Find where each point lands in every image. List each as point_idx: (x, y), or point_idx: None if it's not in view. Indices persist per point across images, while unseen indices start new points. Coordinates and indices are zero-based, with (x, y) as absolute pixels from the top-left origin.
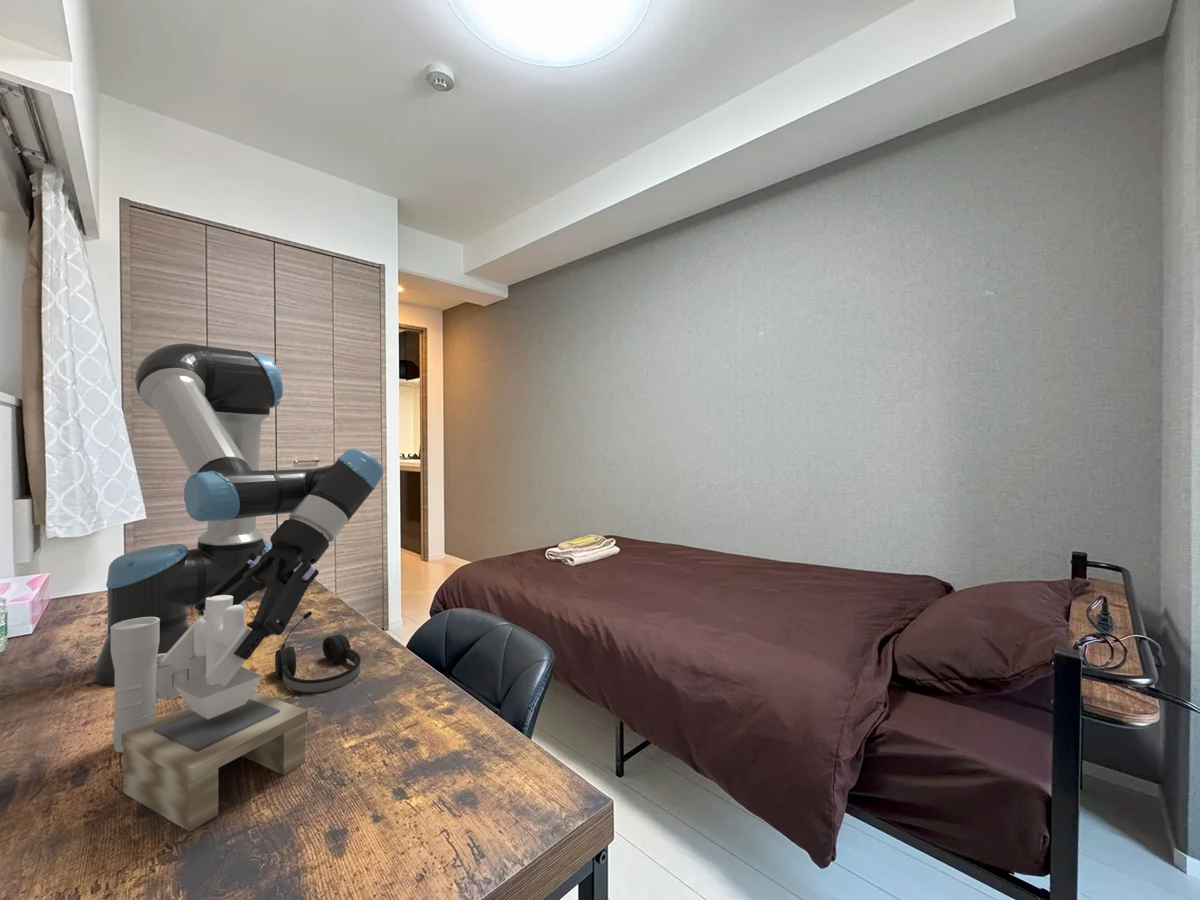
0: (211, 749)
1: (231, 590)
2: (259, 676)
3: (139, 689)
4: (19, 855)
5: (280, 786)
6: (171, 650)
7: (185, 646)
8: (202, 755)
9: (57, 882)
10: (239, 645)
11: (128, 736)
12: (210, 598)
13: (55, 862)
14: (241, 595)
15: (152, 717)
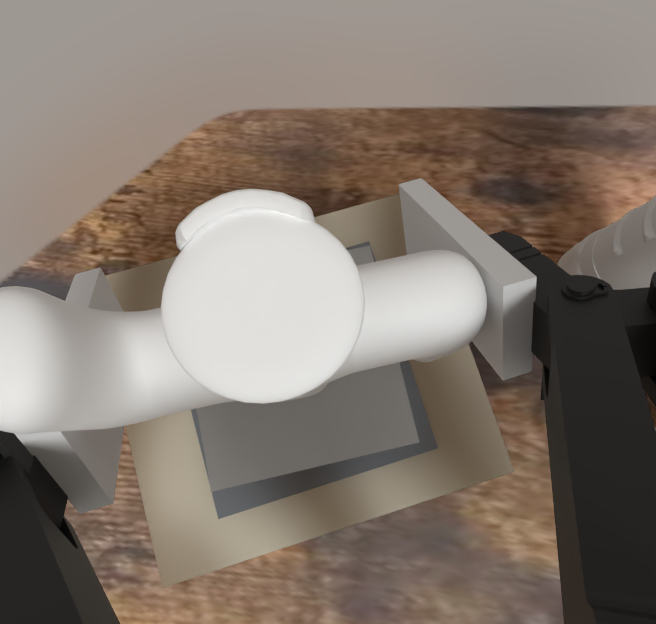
0: None
1: (596, 462)
2: (214, 481)
3: (642, 236)
4: (306, 118)
5: None
6: (423, 197)
7: (431, 246)
8: (136, 307)
9: (185, 153)
10: None
11: (381, 199)
12: (269, 224)
13: (242, 152)
14: (561, 534)
15: None
